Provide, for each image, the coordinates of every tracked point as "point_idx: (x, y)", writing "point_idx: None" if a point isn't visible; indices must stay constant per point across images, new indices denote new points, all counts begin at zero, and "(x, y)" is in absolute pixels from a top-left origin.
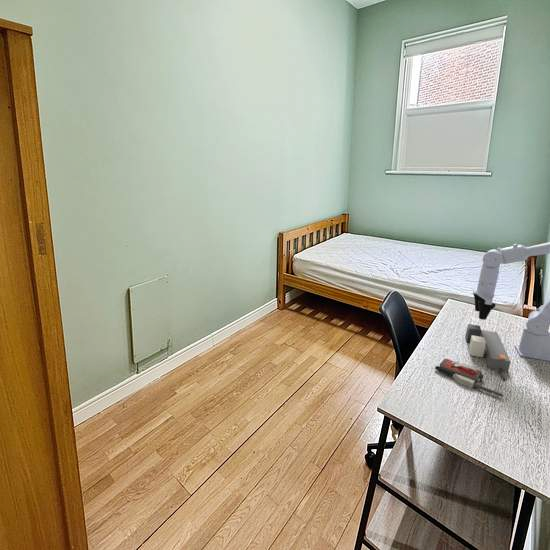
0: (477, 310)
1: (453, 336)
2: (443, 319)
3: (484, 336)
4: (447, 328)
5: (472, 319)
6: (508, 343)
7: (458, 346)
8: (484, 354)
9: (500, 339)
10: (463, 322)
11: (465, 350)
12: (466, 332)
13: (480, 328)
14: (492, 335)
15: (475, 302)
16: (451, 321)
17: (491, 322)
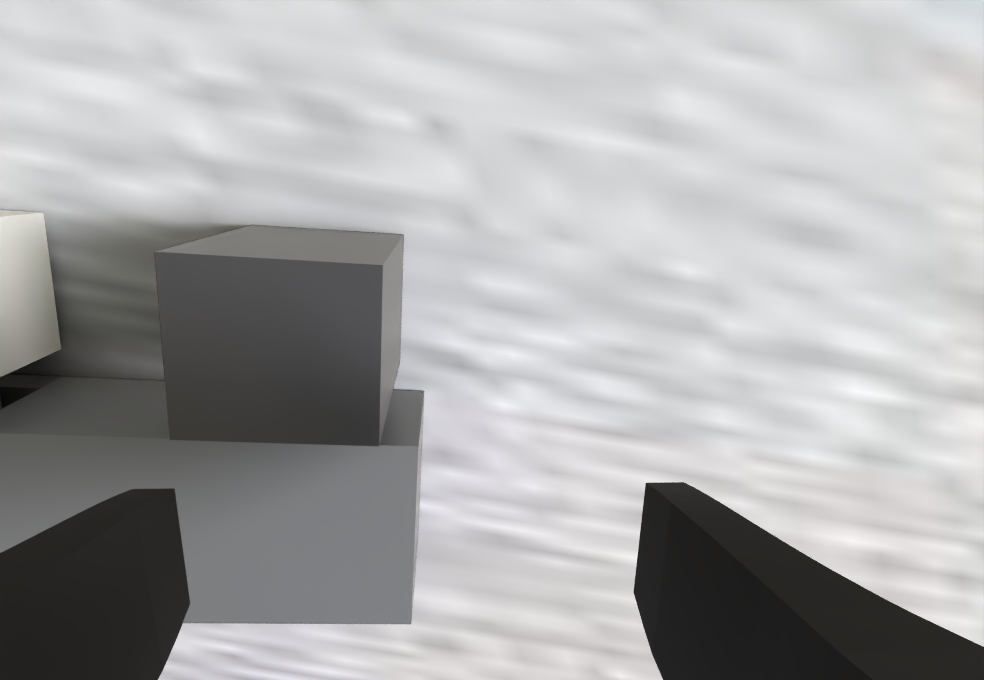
0: (650, 530)
1: (386, 79)
2: (932, 26)
3: (192, 451)
4: (630, 35)
5: (969, 414)
6: (424, 647)
7: (87, 95)
8: (6, 375)
9: (188, 622)
10: (867, 293)
11: (9, 169)
12: (383, 243)
13: (258, 439)
14: (278, 554)
15: (789, 612)
16: (877, 137)
17: (909, 590)
